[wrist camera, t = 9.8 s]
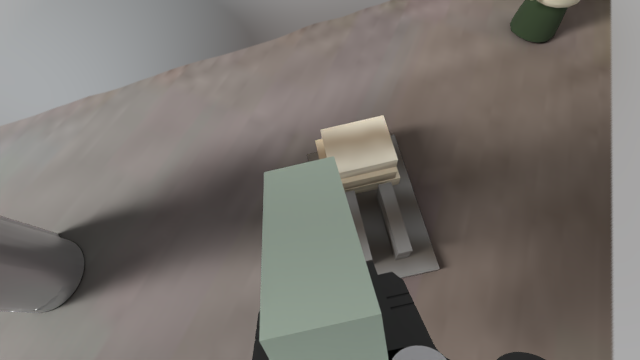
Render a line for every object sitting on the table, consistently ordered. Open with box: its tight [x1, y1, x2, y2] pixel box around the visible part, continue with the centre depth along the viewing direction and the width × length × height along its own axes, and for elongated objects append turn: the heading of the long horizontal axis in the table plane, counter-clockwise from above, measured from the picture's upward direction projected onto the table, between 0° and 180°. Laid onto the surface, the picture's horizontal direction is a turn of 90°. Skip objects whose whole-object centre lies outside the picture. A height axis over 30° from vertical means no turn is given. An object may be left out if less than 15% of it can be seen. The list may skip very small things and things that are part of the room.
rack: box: [307, 116, 440, 278], centre depth 40 cm, size 18×12×7 cm, turn 12°
